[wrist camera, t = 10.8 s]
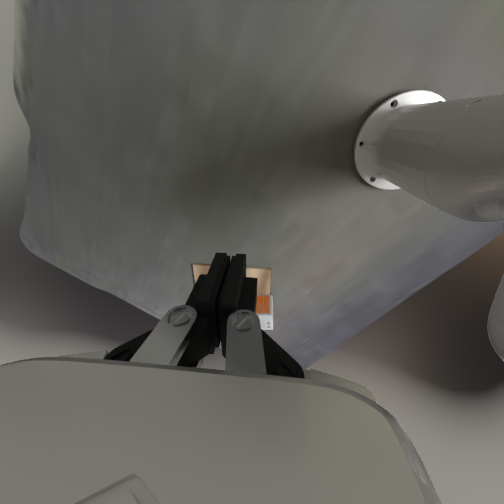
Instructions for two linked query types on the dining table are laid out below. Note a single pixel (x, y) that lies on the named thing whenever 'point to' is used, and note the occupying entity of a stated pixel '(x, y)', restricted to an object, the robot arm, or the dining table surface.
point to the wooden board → (254, 272)
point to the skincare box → (265, 311)
